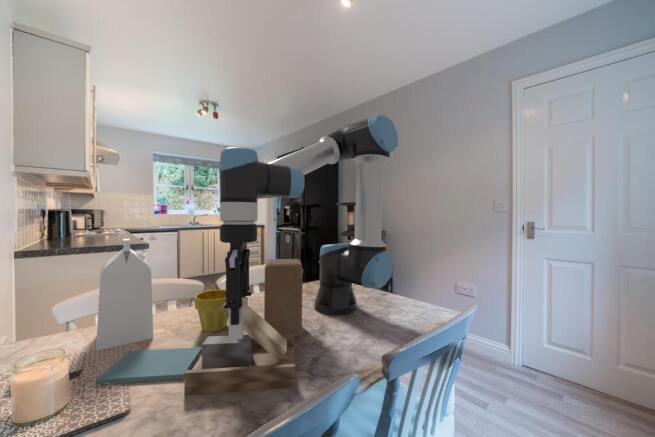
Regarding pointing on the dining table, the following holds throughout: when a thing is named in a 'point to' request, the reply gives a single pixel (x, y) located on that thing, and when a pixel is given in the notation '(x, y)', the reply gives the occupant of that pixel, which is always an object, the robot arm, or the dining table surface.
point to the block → (284, 296)
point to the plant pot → (211, 309)
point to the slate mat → (151, 365)
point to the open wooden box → (239, 367)
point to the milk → (125, 300)
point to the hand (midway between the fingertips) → (238, 332)
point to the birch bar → (261, 331)
